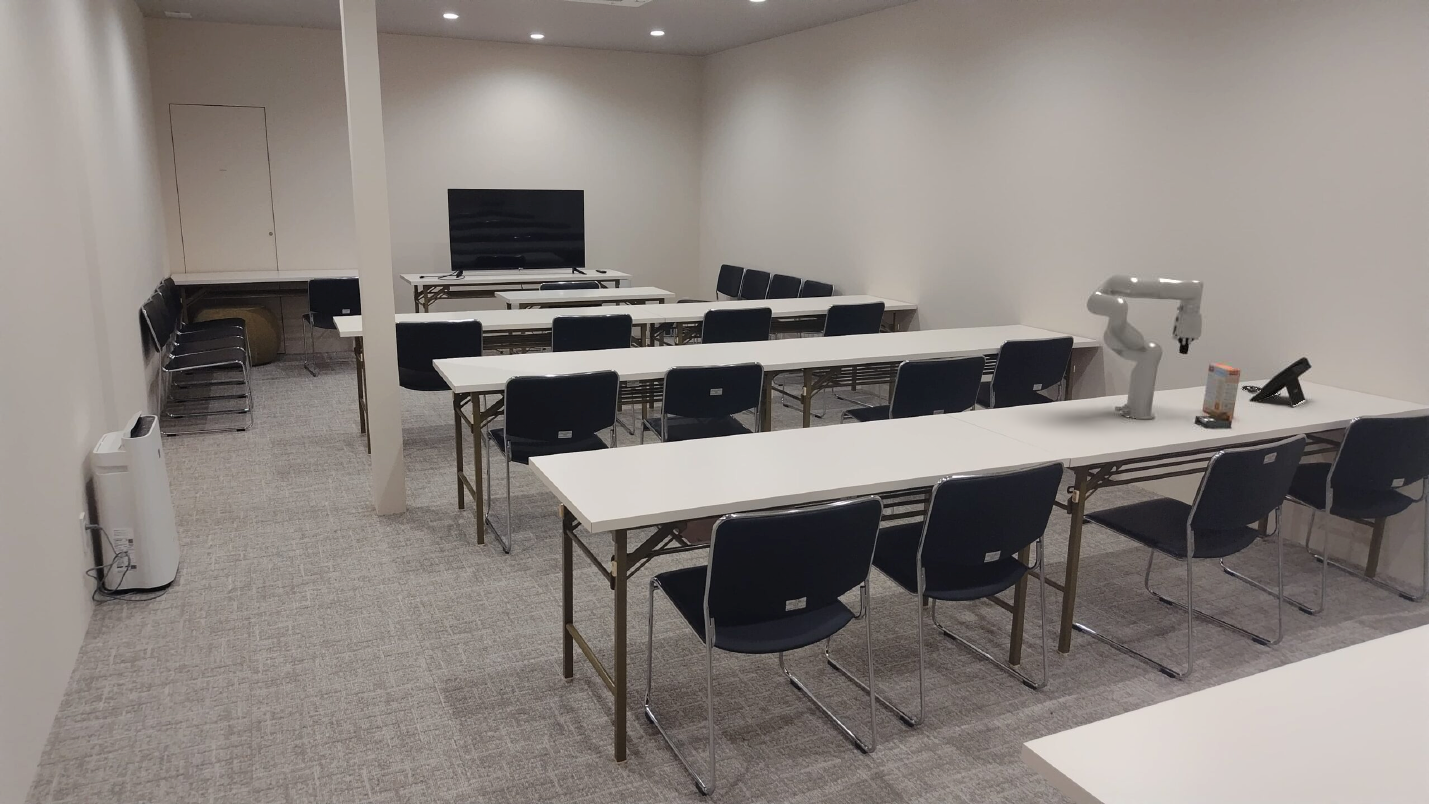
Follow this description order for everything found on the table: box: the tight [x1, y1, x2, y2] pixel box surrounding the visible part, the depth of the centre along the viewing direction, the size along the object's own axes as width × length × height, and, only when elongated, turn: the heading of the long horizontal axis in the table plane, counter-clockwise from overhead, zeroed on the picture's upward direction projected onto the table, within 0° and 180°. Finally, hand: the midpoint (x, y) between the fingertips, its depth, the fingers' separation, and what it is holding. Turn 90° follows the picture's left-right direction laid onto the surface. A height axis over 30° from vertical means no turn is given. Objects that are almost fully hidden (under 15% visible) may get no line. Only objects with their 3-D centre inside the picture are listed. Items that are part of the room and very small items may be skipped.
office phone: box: [1241, 356, 1313, 406], centre depth 404 cm, size 29×28×20 cm
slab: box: [1209, 409, 1228, 420], centre depth 356 cm, size 4×5×3 cm
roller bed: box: [1194, 414, 1234, 429], centre depth 356 cm, size 10×8×5 cm
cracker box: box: [1202, 362, 1242, 420], centre depth 371 cm, size 14×6×21 cm, turn 179°
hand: (1183, 353), depth 372 cm, fingers closed
